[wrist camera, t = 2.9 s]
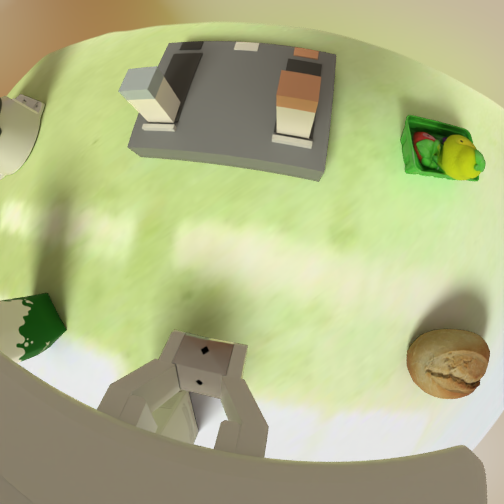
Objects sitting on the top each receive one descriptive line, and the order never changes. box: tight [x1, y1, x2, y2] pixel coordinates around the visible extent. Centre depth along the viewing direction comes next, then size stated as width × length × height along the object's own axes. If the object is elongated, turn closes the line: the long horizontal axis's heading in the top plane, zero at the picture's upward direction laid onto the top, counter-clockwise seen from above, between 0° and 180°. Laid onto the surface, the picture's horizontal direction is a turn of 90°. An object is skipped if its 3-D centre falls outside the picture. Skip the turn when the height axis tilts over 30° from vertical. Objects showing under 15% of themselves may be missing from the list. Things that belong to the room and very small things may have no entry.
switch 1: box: [118, 66, 181, 123], centre depth 26 cm, size 4×3×8 cm
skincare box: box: [151, 389, 198, 444], centre depth 26 cm, size 8×7×16 cm
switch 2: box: [276, 70, 321, 139], centre depth 24 cm, size 4×3×8 cm
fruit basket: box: [401, 115, 485, 181], centre depth 25 cm, size 11×9×11 cm
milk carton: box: [0, 293, 66, 363], centre depth 26 cm, size 9×9×20 cm
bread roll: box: [407, 329, 490, 399], centre depth 27 cm, size 10×15×8 cm, turn 78°
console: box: [128, 41, 336, 182], centre depth 31 cm, size 24×18×5 cm
